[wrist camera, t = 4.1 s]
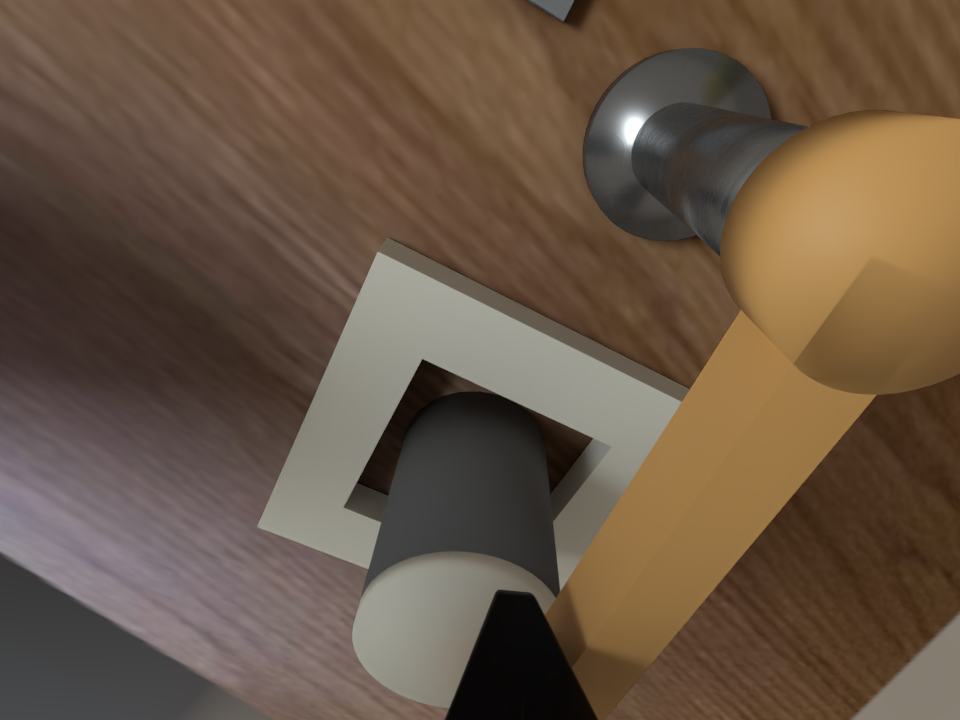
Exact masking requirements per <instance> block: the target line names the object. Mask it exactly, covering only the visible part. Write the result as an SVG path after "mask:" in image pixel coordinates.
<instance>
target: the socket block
mask: <svg viewBox="0 0 960 720" xmlns="http://www.w3.org/2000/svg"><path fill="white" fill-rule="evenodd" d="M422 359H424V360H426V361H428V362H430V363H432V364H434V365H436V366H439V367H441V368H443V369H445V370H447V371H449V372H452V373H454V374H456V375H458V376H460V377H462V378H465V379H467V380H469V381H471V382H473V383H475V384H477V385H480V386H482V387H484V388H486V389H488V390H490V391H493V392H495V393H497V394H499V395H501V396H503V397H506V398H508V399H510V400H512V401H514V402H516V403H518V404H521V405H523V406H525V407H527V408H529V409H531V410H534V411H536V412H538V413H540V414H542V415H544V416H547V417H549V418H551V419H553V420H555V421H557V422H559V423H562V424H564V425H566V426H568V427H570V428H572V429H575V430H577V431H579V432H581V433H583V434H585V435H588V436H590V437H592V438H593V439H592V441H591V442H590V443H589V445H588V446H587V447H586V449H585V450H584V451H583V452H582V454H581V455H580V456H579V458H578V459H577V460H576V462H575V463H574V464H573V466H572V467H571V468H570V469H569V471H568V472H567V473H566V475H565V476H564V477H563V479H562V480H561V481H560V483H559V484H558V485H557V486H556V488H555V489H554V490H553V492H552V493H551V494H550V498H551V508H552V517H553V527H554V536H555V546H556V555H557V565H558V575H559V584H560V591H561V590H562V588H563V587H564V585H565V583H566V582H567V580H568V579H569V577H570V576H571V574H572V573H573V571H574V569H575V568H576V566H577V565H578V563H579V562H580V560H581V558H582V557H583V555H584V554H585V552H586V551H587V549H588V548H589V546H590V544H591V543H592V541H593V540H594V538H595V537H596V535H597V534H598V532H599V530H600V529H601V527H602V526H603V524H604V523H605V521H606V520H607V518H608V516H609V515H610V513H611V512H612V510H613V509H614V507H615V506H616V504H617V502H618V501H619V499H620V498H621V496H622V495H623V493H624V491H625V490H626V488H627V487H628V485H629V484H630V482H631V481H632V479H633V477H634V476H635V474H636V473H637V471H638V470H639V468H640V467H641V465H642V463H643V462H644V460H645V459H646V457H647V456H648V454H649V453H650V451H651V449H652V448H653V446H654V445H655V443H656V442H657V440H658V438H659V437H660V435H661V434H662V432H663V431H664V429H665V428H666V426H667V424H668V423H669V421H670V420H671V418H672V417H673V415H674V414H675V412H676V410H677V409H678V407H679V406H680V404H681V403H682V401H683V400H684V398H685V396H686V395H687V393H688V392H689V390H690V389H689V388H687V387H685V386H683V385H681V384H679V383H677V382H675V381H673V380H671V379H669V378H667V377H665V376H663V375H661V374H659V373H657V372H655V371H653V370H651V369H649V368H647V367H645V366H643V365H641V364H639V363H637V362H635V361H633V360H631V359H629V358H627V357H625V356H623V355H621V354H619V353H617V352H615V351H613V350H611V349H609V348H607V347H605V346H603V345H601V344H599V343H597V342H595V341H593V340H591V339H589V338H587V337H585V336H583V335H581V334H579V333H577V332H575V331H573V330H571V329H569V328H567V327H565V326H563V325H561V324H559V323H557V322H555V321H553V320H551V319H549V318H547V317H545V316H543V315H541V314H539V313H537V312H535V311H533V310H531V309H529V308H527V307H525V306H523V305H521V304H519V303H517V302H515V301H513V300H511V299H509V298H507V297H505V296H503V295H501V294H499V293H497V292H495V291H493V290H491V289H489V288H487V287H485V286H483V285H481V284H479V283H477V282H475V281H473V280H471V279H469V278H467V277H465V276H463V275H461V274H459V273H457V272H455V271H453V270H451V269H449V268H447V267H445V266H443V265H441V264H439V263H437V262H435V261H433V260H432V259H430V258H428V257H426V256H424V255H422V254H420V253H418V252H416V251H414V250H412V249H410V248H408V247H406V246H404V245H402V244H400V243H398V242H396V241H394V240H392V239H390V238H388V237H387V239H386V240H385V242H384V243H383V245H382V246H381V248H380V249H379V251H378V252H377V255H376V257H375V259H374V261H373V264H372V266H371V268H370V271H369V273H368V275H367V277H366V280H365V282H364V284H363V287H362V289H361V291H360V293H359V296H358V298H357V300H356V302H355V305H354V307H353V309H352V312H351V314H350V316H349V318H348V321H347V323H346V325H345V328H344V330H343V332H342V334H341V337H340V339H339V341H338V344H337V346H336V348H335V350H334V353H333V355H332V357H331V360H330V362H329V364H328V366H327V369H326V371H325V373H324V375H323V378H322V380H321V382H320V385H319V387H318V389H317V391H316V394H315V396H314V398H313V401H312V403H311V405H310V407H309V410H308V412H307V414H306V417H305V419H304V421H303V423H302V426H301V428H300V430H299V433H298V435H297V437H296V439H295V442H294V444H293V446H292V448H291V451H290V453H289V455H288V458H287V460H286V462H285V464H284V467H283V469H282V471H281V474H280V476H279V478H278V480H277V483H276V485H275V487H274V490H273V492H272V494H271V496H270V499H269V501H268V503H267V506H266V508H265V510H264V512H263V515H262V517H261V519H260V521H259V524H258V526H257V527H258V528H261V529H264V530H266V531H269V532H272V533H274V534H277V535H280V536H282V537H285V538H287V539H290V540H293V541H295V542H298V543H301V544H303V545H306V546H309V547H311V548H314V549H316V550H319V551H322V552H324V553H327V554H330V555H332V556H335V557H338V558H340V559H343V560H346V561H348V562H351V563H353V564H356V565H359V566H361V567H364V568H367V569H369V566H370V562H371V559H372V555H373V551H374V547H375V544H376V540H377V536H378V533H379V529H380V525H381V522H382V518H383V514H384V510H385V507H386V503H387V499H388V495H385V494H383V493H380V492H378V491H375V490H373V489H371V488H368V487H366V486H363V485H361V484H358V483H357V481H358V479H359V477H360V475H361V473H362V472H363V470H364V468H365V466H366V464H367V462H368V460H369V458H370V457H371V455H372V453H373V451H374V449H375V447H376V445H377V443H378V441H379V440H380V438H381V436H382V434H383V432H384V430H385V428H386V426H387V424H388V423H389V421H390V419H391V417H392V415H393V413H394V411H395V409H396V408H397V406H398V404H399V402H400V400H401V398H402V396H403V394H404V392H405V391H406V389H407V387H408V385H409V383H410V381H411V379H412V377H413V375H414V374H415V372H416V370H417V368H418V366H419V364H420V362H421V360H422Z"/></svg>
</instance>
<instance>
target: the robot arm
mask: <svg viewBox="0 0 960 720" xmlns="http://www.w3.org/2000/svg"><path fill="white" fill-rule="evenodd" d="M445 720H598V718H597V716H596V714H595V712H594V710H593V708H592V706H591V704H590V702H589V700H588V699H587V697H586V695H585V693H584V691H583V689H582V687H581V685H580V683H579V681H578V679H577V677H576V675H575V673H574V671H573V669H572V667H571V665H570V663H569V661H568V659H567V657H566V655H565V654H564V652H563V650H562V648H561V646H560V644H559V642H558V640H557V638H556V636H555V634H554V632H553V630H552V628H551V626H550V624H549V622H548V620H547V618H546V616H545V614H544V612H543V610H542V609H541V607H540V605H539V603H538V601H537V599H536V597H535V596H534V595H533V594H532V593H530V592H521V591H511V590H501V589H500V590H497V591H496V592H495V594H494V597H493V599H492V602H491V604H490V607H489V609H488V612H487V614H486V617H485V619H484V622H483V624H482V627H481V629H480V632H479V634H478V637H477V639H476V642H475V644H474V647H473V650H472V652H471V655H470V657H469V660H468V662H467V665H466V667H465V670H464V672H463V675H462V677H461V680H460V682H459V685H458V687H457V690H456V692H455V695H454V697H453V700H452V702H451V705H450V707H449V710H448V713H447V715H446V718H445Z"/></svg>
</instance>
